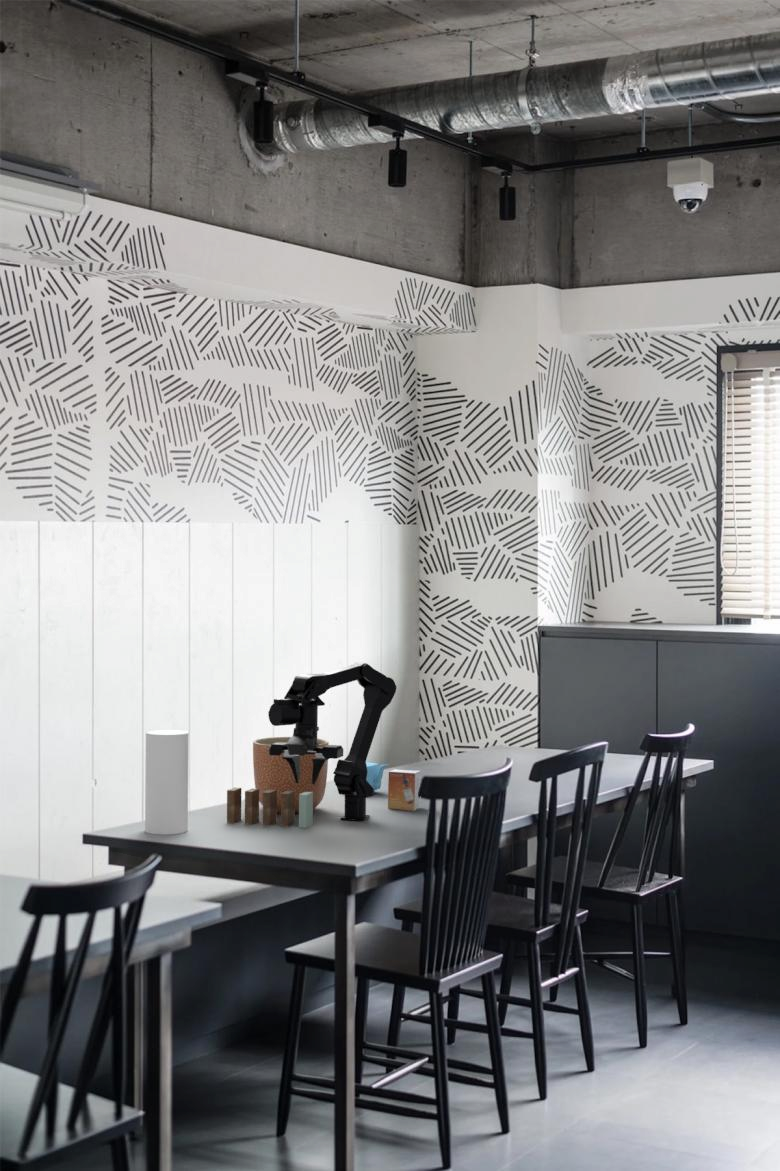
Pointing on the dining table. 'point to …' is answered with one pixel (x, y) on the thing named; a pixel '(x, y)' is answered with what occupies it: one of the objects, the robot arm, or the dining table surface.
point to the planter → (286, 772)
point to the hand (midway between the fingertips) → (305, 783)
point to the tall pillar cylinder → (166, 782)
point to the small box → (403, 789)
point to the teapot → (374, 775)
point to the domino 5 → (305, 809)
